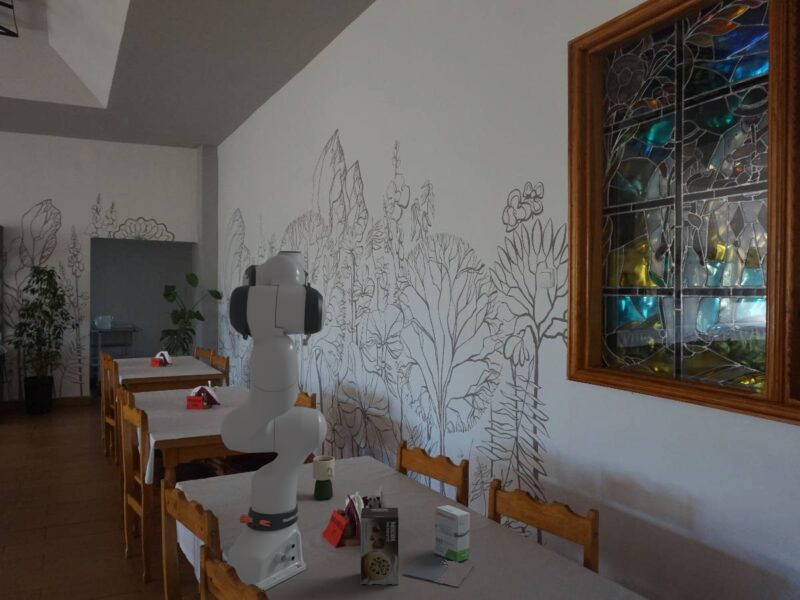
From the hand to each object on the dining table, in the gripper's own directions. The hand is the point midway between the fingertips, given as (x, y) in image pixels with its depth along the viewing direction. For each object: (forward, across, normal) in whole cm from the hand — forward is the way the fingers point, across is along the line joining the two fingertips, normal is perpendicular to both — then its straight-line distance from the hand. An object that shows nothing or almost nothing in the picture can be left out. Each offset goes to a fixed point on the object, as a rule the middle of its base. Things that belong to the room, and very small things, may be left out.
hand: (289, 345), depth 195 cm
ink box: (+40, +39, -54) cm, 78 cm away
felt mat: (+39, +34, -61) cm, 80 cm away
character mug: (+51, +11, -6) cm, 52 cm away
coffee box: (+38, +19, -62) cm, 76 cm away
